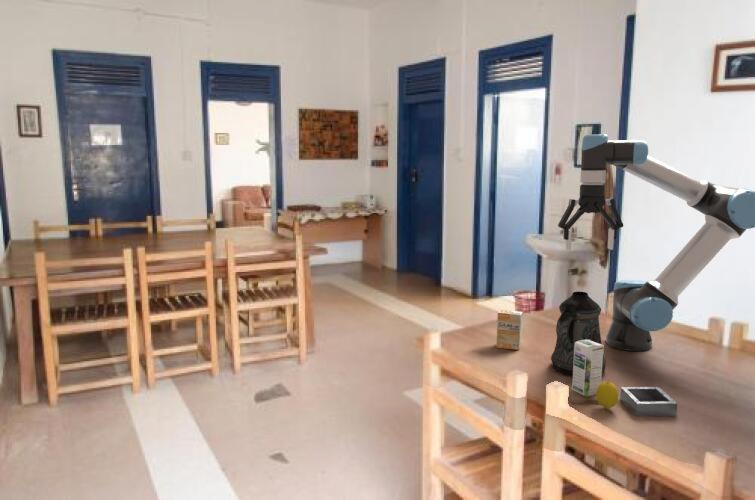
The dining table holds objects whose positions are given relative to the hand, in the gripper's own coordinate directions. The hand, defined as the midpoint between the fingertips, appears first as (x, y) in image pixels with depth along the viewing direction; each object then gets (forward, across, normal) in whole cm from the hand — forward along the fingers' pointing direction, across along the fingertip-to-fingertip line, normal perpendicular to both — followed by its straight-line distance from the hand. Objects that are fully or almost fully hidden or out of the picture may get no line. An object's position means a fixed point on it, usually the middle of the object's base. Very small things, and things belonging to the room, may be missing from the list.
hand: (589, 249), depth 185 cm
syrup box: (+36, +10, +30) cm, 48 cm away
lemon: (+37, +7, +39) cm, 54 cm away
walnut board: (+37, +10, +30) cm, 48 cm away
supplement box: (+37, +23, -10) cm, 45 cm away
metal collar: (+37, -4, +38) cm, 53 cm away
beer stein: (+37, +6, +12) cm, 39 cm away
